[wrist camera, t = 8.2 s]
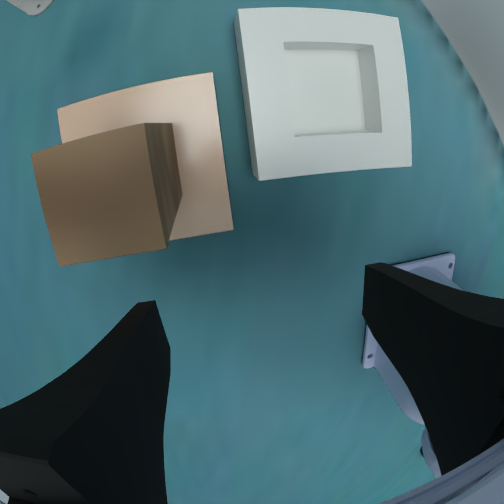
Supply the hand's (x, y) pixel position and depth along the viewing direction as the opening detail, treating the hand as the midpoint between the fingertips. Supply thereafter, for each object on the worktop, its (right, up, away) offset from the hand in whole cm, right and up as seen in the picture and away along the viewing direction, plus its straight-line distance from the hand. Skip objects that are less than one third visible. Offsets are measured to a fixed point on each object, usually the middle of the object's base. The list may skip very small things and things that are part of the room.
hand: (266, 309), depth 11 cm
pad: (-7, +7, +6) cm, 11 cm away
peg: (-6, +7, +6) cm, 11 cm away
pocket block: (+3, +11, +6) cm, 13 cm away
